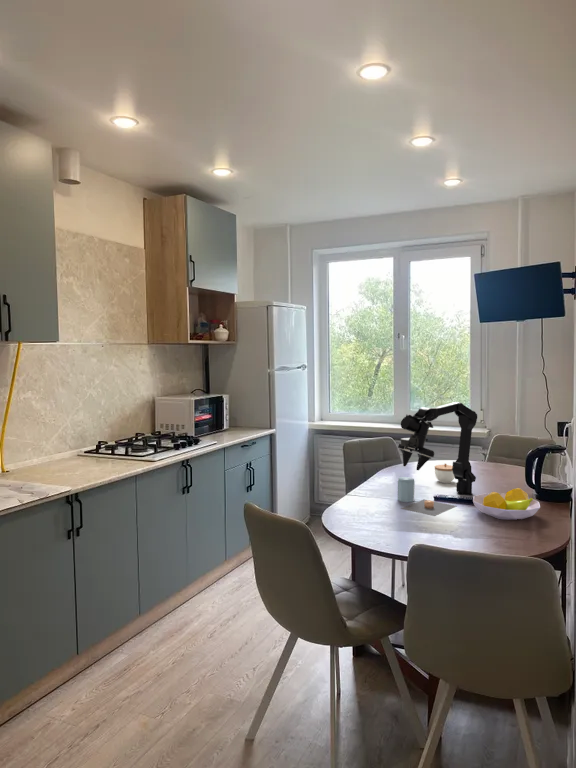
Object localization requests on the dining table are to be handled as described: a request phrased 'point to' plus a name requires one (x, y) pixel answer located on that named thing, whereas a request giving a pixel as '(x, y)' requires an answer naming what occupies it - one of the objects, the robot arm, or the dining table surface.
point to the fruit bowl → (507, 504)
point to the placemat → (434, 511)
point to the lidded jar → (444, 473)
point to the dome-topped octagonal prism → (406, 489)
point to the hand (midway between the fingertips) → (410, 468)
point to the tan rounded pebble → (429, 504)
